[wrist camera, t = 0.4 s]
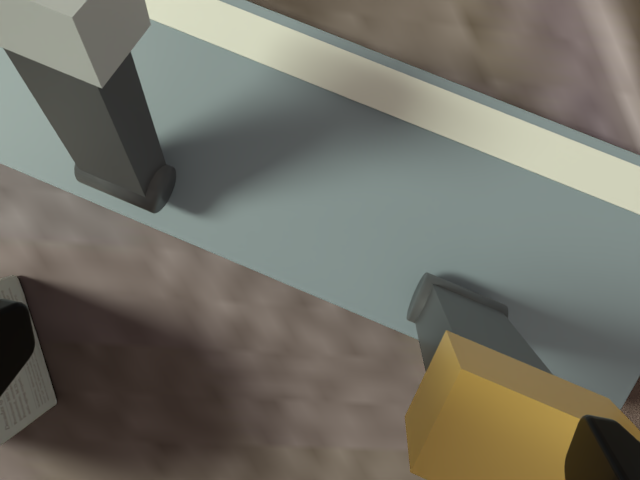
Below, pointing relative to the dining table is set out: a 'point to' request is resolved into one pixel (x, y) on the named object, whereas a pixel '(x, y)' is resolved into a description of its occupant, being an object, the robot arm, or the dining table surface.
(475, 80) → the dining table surface
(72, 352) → the dining table surface
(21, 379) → the supplement box
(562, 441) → the lever
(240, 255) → the switch panel
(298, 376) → the dining table surface
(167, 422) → the dining table surface
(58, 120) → the on lever
